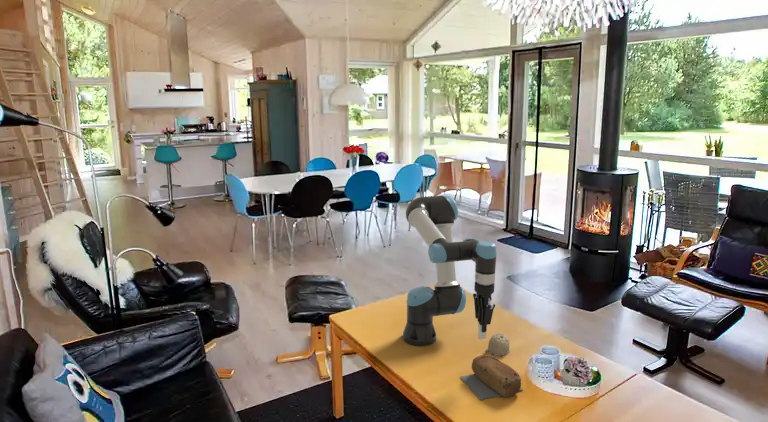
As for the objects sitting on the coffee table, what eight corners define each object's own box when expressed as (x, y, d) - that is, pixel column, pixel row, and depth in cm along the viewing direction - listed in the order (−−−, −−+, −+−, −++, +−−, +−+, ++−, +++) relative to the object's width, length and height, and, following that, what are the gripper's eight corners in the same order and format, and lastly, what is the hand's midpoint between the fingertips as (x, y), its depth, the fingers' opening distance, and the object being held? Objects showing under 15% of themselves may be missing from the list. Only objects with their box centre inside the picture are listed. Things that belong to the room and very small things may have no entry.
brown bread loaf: (469, 373, 210) (503, 400, 194) (470, 356, 209) (505, 382, 192) (490, 367, 216) (525, 392, 199) (491, 350, 214) (527, 375, 197)
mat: (460, 377, 209) (460, 376, 209) (500, 369, 215) (500, 368, 215) (480, 400, 194) (480, 398, 194) (522, 390, 200) (522, 389, 200)
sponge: (509, 359, 231) (512, 336, 234) (508, 356, 222) (510, 332, 226) (488, 355, 234) (491, 332, 237) (485, 352, 225) (488, 329, 229)
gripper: (467, 277, 207) (465, 332, 213) (484, 289, 195) (481, 347, 201) (484, 274, 210) (482, 329, 215) (502, 286, 198) (499, 344, 203)
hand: (481, 338), depth 208 cm, fingers closed
